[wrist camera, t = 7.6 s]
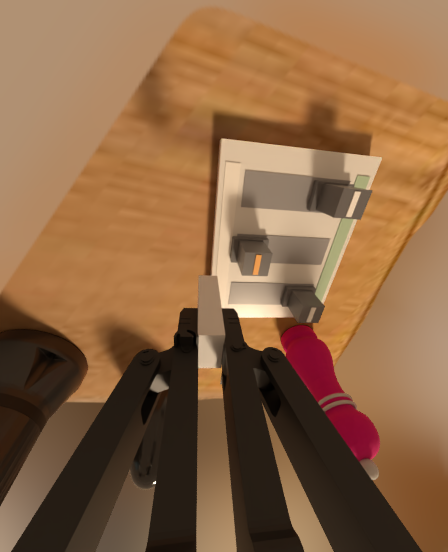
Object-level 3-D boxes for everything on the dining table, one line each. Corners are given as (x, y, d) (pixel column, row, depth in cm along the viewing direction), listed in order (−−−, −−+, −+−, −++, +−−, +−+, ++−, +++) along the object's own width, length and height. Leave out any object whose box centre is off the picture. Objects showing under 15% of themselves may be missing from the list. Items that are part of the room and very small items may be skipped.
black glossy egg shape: (159, 405, 45) (142, 507, 32) (124, 382, 40) (89, 491, 27) (198, 387, 44) (198, 487, 31) (167, 361, 39) (152, 466, 26)
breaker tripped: (230, 259, 27) (235, 277, 23) (232, 236, 26) (239, 250, 22) (262, 261, 28) (273, 278, 24) (267, 238, 26) (279, 252, 22)
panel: (208, 309, 34) (208, 317, 32) (219, 139, 22) (221, 138, 21) (312, 309, 36) (318, 317, 34) (369, 157, 25) (383, 157, 23)
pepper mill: (292, 317, 37) (377, 461, 19) (323, 328, 39) (423, 466, 22) (270, 345, 39) (326, 491, 22) (300, 353, 42) (372, 493, 24)
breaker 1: (280, 303, 32) (292, 324, 28) (285, 285, 30) (298, 305, 26) (307, 303, 32) (322, 324, 28) (313, 286, 31) (330, 305, 27)
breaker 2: (306, 209, 25) (327, 219, 21) (314, 180, 23) (338, 185, 19) (340, 212, 26) (366, 222, 22) (350, 183, 24) (380, 189, 20)
